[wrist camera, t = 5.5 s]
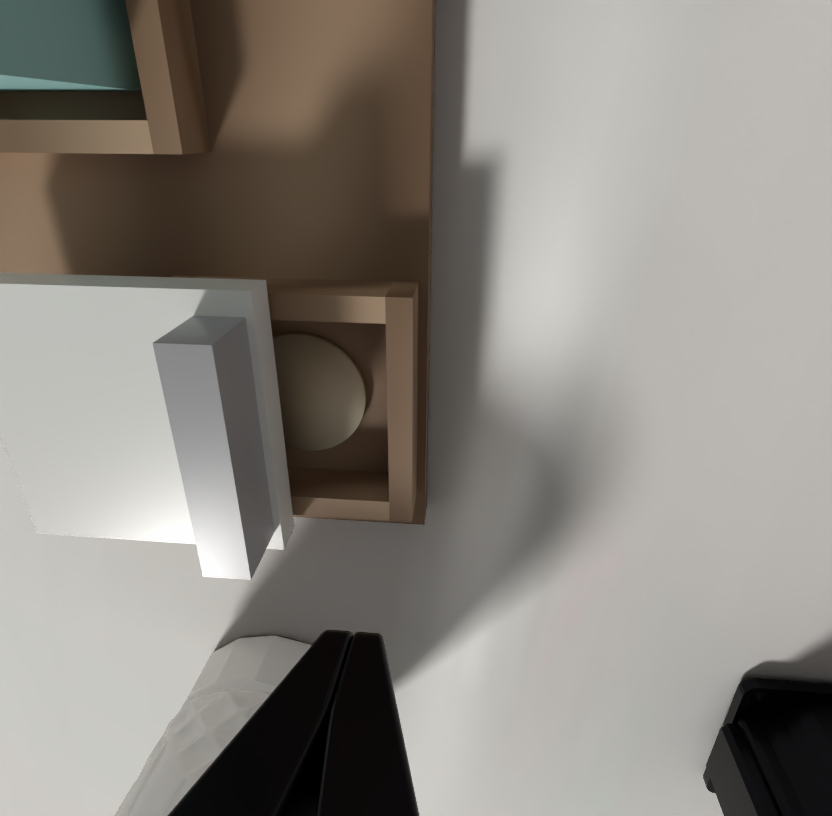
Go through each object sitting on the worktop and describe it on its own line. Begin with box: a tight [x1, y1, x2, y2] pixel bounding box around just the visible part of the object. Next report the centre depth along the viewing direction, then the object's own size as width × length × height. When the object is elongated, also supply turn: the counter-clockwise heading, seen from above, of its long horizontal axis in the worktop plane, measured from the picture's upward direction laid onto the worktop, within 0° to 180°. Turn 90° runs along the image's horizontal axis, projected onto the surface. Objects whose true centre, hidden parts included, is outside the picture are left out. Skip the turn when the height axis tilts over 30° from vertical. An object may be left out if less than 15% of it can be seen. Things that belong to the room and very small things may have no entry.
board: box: [0, 0, 435, 525], centre depth 14 cm, size 12×18×2 cm, turn 0°
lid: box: [0, 273, 294, 580], centre depth 14 cm, size 7×7×3 cm
